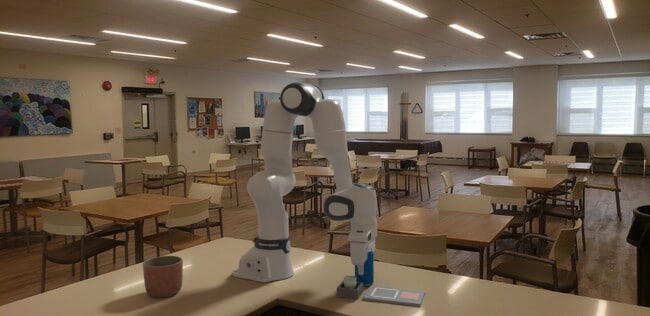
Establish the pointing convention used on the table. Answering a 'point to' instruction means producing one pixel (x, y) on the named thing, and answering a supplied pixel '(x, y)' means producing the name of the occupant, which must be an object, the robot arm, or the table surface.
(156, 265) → the planter
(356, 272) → the beverage can
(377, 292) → the picture board
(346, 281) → the button
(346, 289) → the button housing
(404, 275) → the table surface
